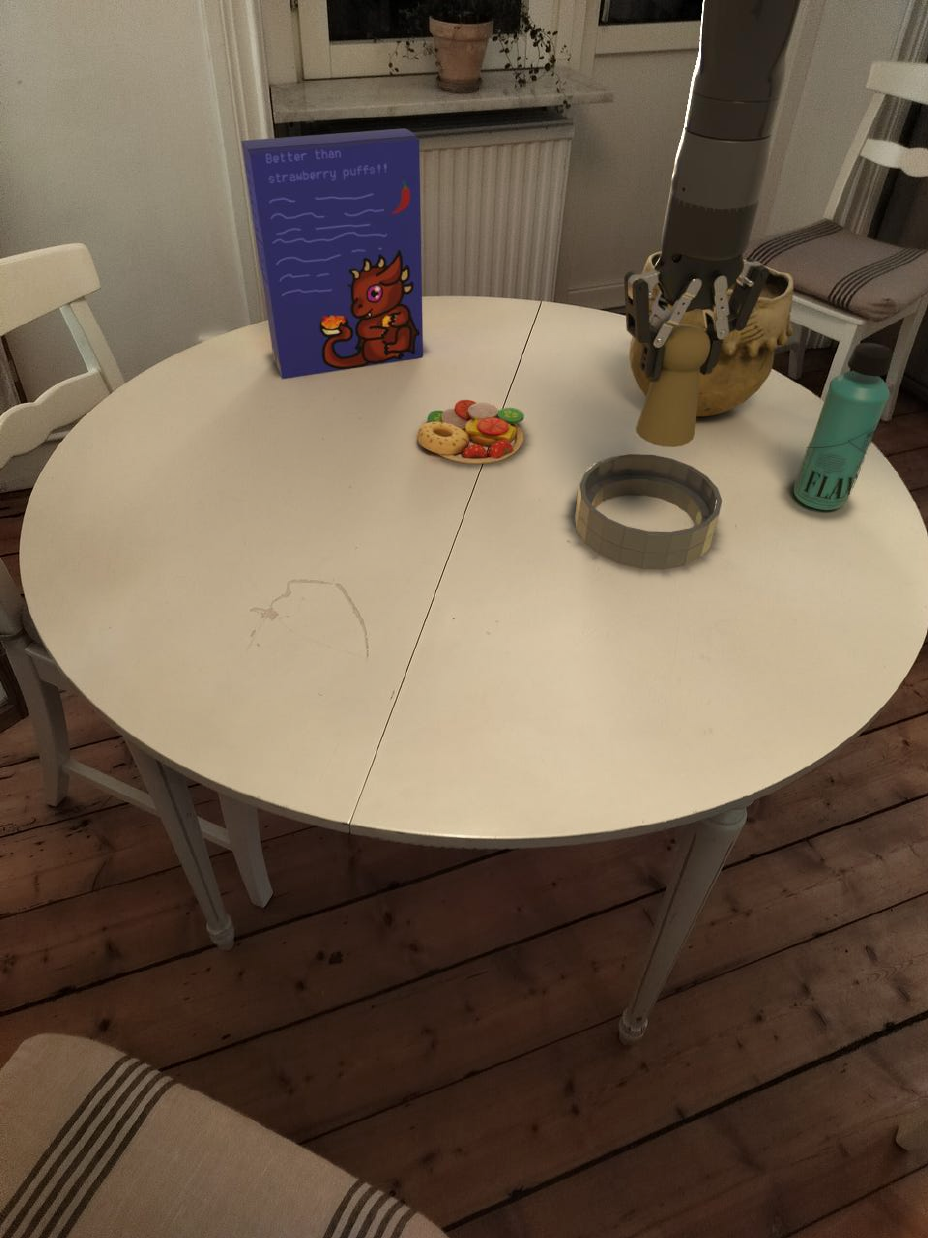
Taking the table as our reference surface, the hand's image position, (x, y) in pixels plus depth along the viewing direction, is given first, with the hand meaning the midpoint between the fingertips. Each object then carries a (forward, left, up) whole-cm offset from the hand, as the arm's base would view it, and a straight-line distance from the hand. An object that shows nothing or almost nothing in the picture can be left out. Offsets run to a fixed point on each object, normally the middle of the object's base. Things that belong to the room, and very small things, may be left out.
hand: (677, 374), depth 82 cm
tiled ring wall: (0, 0, -20) cm, 20 cm away
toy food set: (+27, -3, -20) cm, 34 cm away
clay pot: (+9, -30, -20) cm, 38 cm away
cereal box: (+56, -10, -20) cm, 61 cm away
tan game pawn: (0, 0, -7) cm, 7 cm away
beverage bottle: (-14, -18, -20) cm, 31 cm away
